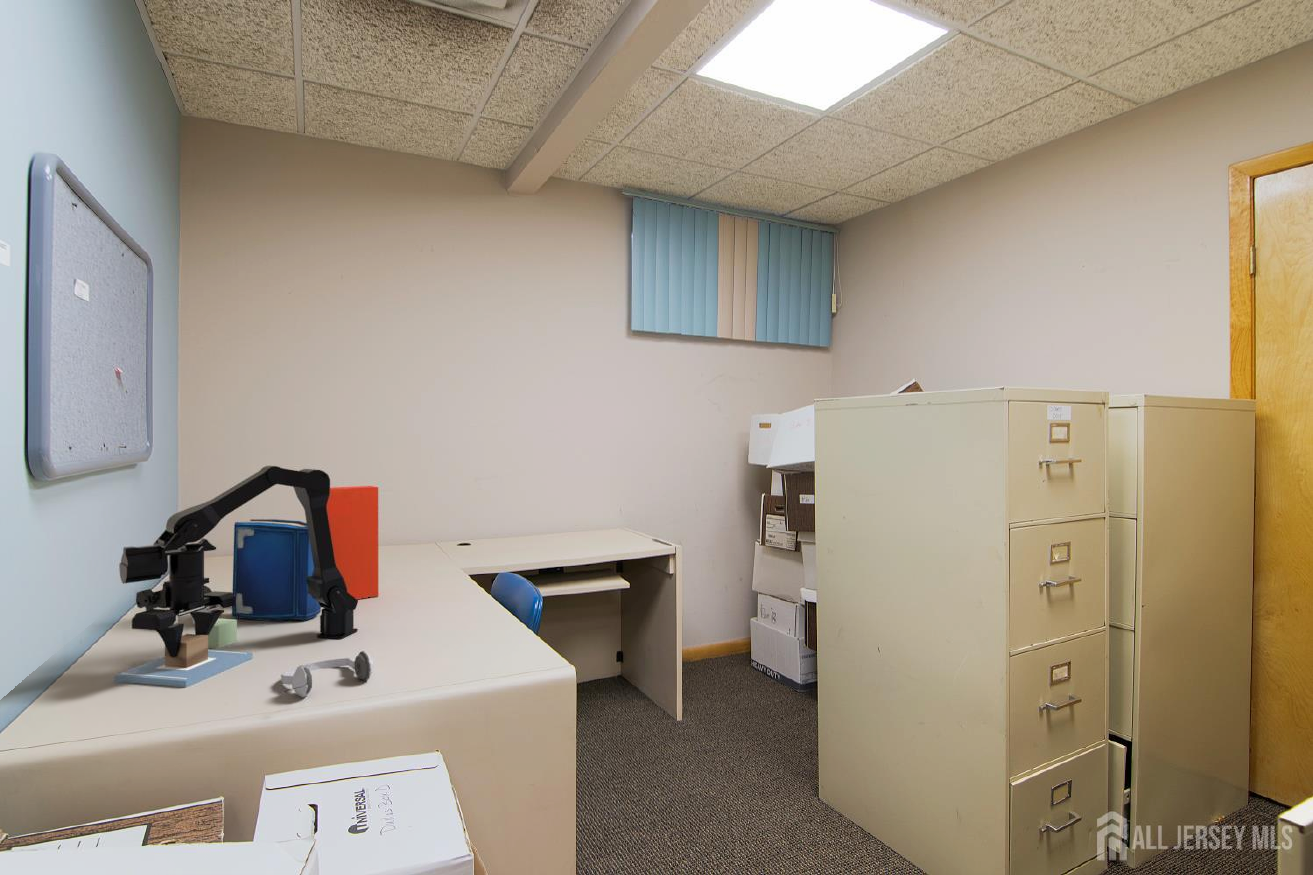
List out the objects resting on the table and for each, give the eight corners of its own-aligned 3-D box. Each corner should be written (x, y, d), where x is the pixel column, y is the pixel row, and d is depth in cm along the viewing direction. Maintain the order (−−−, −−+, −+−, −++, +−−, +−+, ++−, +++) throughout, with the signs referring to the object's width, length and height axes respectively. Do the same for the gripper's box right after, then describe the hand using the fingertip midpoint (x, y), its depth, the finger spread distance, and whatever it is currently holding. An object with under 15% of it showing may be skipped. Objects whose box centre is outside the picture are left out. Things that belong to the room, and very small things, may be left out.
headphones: (389, 682, 123) (348, 672, 137) (387, 651, 124) (346, 644, 138) (288, 710, 111) (253, 696, 124) (286, 675, 111) (252, 665, 125)
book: (326, 615, 171) (326, 519, 171) (309, 622, 164) (310, 523, 164) (249, 612, 173) (249, 518, 173) (229, 619, 166) (230, 521, 166)
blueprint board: (252, 658, 138) (252, 652, 138) (186, 687, 123) (186, 680, 123) (187, 653, 141) (187, 647, 141) (114, 681, 125) (114, 674, 125)
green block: (236, 641, 150) (236, 619, 150) (218, 648, 145) (218, 625, 145) (217, 640, 151) (218, 618, 151) (199, 646, 146) (199, 624, 146)
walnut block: (208, 659, 134) (208, 635, 134) (186, 668, 129) (186, 642, 129) (186, 657, 135) (186, 633, 135) (164, 666, 130) (164, 641, 130)
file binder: (306, 600, 185) (306, 488, 185) (369, 591, 196) (369, 485, 196) (313, 606, 179) (313, 490, 179) (378, 596, 190) (378, 487, 190)
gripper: (192, 564, 142) (192, 635, 142) (107, 583, 124) (107, 665, 124) (237, 566, 140) (237, 638, 140) (157, 586, 122) (157, 669, 122)
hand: (186, 651), depth 132 cm, fingers open, 6 cm apart
